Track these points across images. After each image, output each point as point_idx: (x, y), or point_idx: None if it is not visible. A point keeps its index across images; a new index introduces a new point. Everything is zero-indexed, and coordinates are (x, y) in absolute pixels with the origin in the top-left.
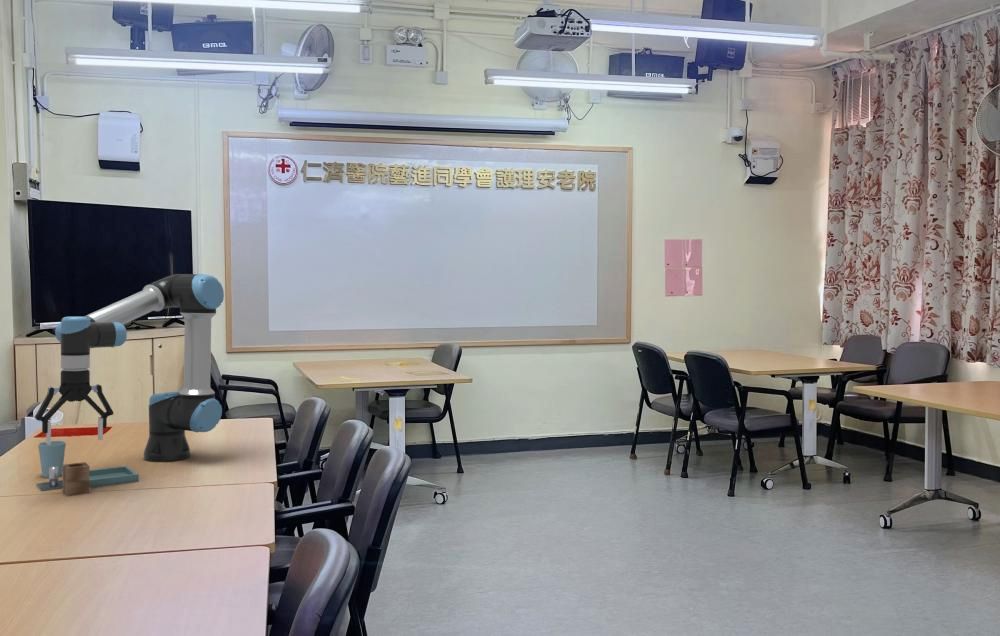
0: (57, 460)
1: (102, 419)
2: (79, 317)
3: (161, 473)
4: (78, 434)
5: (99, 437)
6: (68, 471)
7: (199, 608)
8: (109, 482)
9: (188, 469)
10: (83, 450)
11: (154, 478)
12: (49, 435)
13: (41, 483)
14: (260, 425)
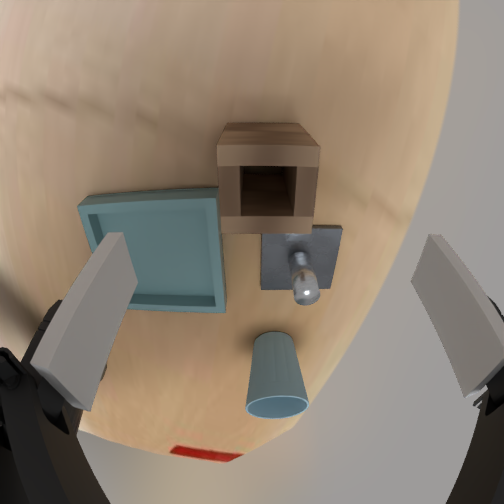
0: (269, 362)
1: (36, 354)
2: None
3: (51, 251)
4: (202, 451)
5: (120, 256)
6: (308, 142)
7: None
8: (156, 193)
9: (14, 256)
10: (200, 422)
11: (57, 211)
12: (465, 272)
13: (321, 282)
14: None
